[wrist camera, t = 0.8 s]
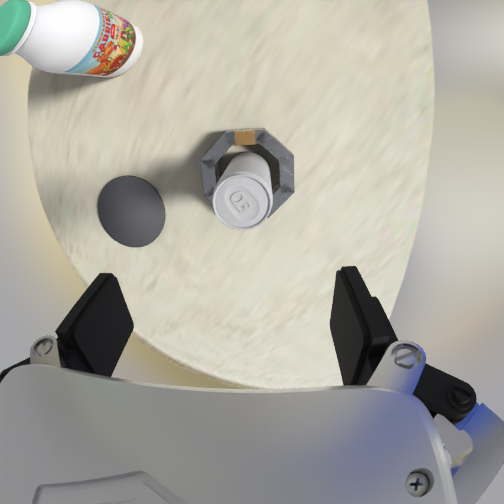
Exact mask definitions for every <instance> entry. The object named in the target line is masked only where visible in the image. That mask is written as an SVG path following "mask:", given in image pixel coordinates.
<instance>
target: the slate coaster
mask: <svg viewBox="0 0 504 504" xmlns="http://www.w3.org/2000/svg"><path fill="white" fill-rule="evenodd" d="M98 213H99V218H100V221H101V223H102V225H103V227H104V229H105V230H106V232H107V233H108V234H109V235H110V236H111V237H112V238H113V239H114V240H115V241H117V242H119V243H120V244H123V245H125V246H128V247H143V246H146V245H148V244H150V243H152V242H153V241H154V240H155V239H156V238H157V237H158V236H159V234H160V233H161V231H162V229H163V226H164V223H165V208H164V204H163V201H162V199H161V197H160V195H159V193H158V192H157V190H156V189H155V188H154V187H153V186H152V185H151V184H150V183H148V182H147V181H145V180H143V179H141V178H139V177H135V176H122V177H119V178H116V179H114V180H113V181H111V182H110V183H108V184H107V185H106V186H105V188H104V189H103V191H102V193H101V195H100V198H99V202H98Z"/></svg>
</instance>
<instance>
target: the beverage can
mask: <svg viewBox="0 0 504 504" xmlns="http://www.w3.org/2000/svg"><path fill="white" fill-rule="evenodd" d="M212 200H213V209H214V212H215V214H216V216H217V217H218V219H219V220H220V221H221V222H222V223H223V224H224V225H226V226H228V227H230V228H232V229H236V230H249V229H253V228H255V227H257V226H259V225H260V224H262V223H263V222H264V221H265V220H266V218H267V217H268V215H269V213H270V211H271V208H272V204H273V194H272V186H271V178H270V170H269V166H268V163H267V162H266V160H265V159H264V158H263V157H261V156H260V155H258V154H256V153H252V152H243V153H240V154H238V155H236V156H235V157H234V158H233V159H232V160H231V162H230V163H229V165H228V166H227V168H226V170H225V171H224V173H223V175H222V176H221V178H220V180H219V181H218V183H217V185H216V187H215V188H214V192H213V196H212Z"/></svg>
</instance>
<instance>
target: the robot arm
mask: <svg viewBox="0 0 504 504" xmlns="http://www.w3.org/2000/svg"><path fill="white" fill-rule="evenodd" d="M133 328H134V324H133V320H132V318H131V315H130V313H129V310H128V308H127V305H126V302H125V300H124V297H123V294H122V291H121V288H120V286H119V283H118V280H117V278H116V277H115V276H114V275H113V274H112V273H100V274H99V275H98V276H97V277H96V278H95V280H94V281H93V282H92V283H91V285H90V286H89V287H88V288H87V290H86V291H85V292H84V293H83V295H82V296H81V297H80V299H79V300H78V301H77V302H76V304H75V305H74V306H73V308H72V309H71V310H70V312H69V313H68V314H67V316H66V317H65V319H64V320H63V321H62V323H61V324H60V325H59V327H58V328H57V330H56V331H55V332H56V334H57V335H58V338H57V339H56V338H55V337H53V336H50V335H49V336H48V335H47V336H43V337H41V338H39V339H38V340H36V341H35V342H34V344H33V345H32V347H31V349H30V357H29V358H27V359H25V360H24V361H21V362H19V363H17V364H15V365H13V366H11V367H9V368H7V369H5V370H3V371H2V372H1V374H0V504H475V503H476V502H477V501H478V499H479V498H480V497H481V496H482V494H483V493H484V492H485V490H486V489H487V488H488V486H489V485H490V483H491V482H492V480H493V479H494V478H495V476H496V475H497V473H498V472H499V470H500V469H501V467H502V465H503V464H504V421H503V420H501V419H500V418H499V417H498V416H497V415H496V414H495V413H494V412H492V411H491V410H490V409H489V408H488V407H487V406H486V405H485V404H483V403H482V404H481V405H479V404H478V403H477V402H476V394H475V391H474V389H473V388H472V387H471V386H470V385H469V384H468V383H466V382H464V381H462V380H460V379H458V378H456V377H453V376H451V375H449V374H447V373H445V372H443V371H441V370H438V369H436V368H434V367H432V366H430V365H428V364H426V355H425V352H424V351H423V349H422V348H421V347H420V346H419V345H418V344H416V343H414V342H411V341H407V340H400V341H398V339H397V337H396V335H395V333H394V330H393V328H392V326H391V324H390V322H389V320H388V318H387V316H386V314H385V312H384V310H383V308H382V306H381V304H380V302H379V300H378V298H377V297H371V295H370V293H369V291H368V289H367V287H366V285H365V283H364V281H363V279H362V277H361V275H360V273H359V271H358V269H357V267H356V266H346V267H342V268H341V270H338V271H337V272H336V280H335V288H334V296H333V304H332V311H331V318H330V330H331V334H332V338H333V342H334V346H335V350H336V354H337V358H338V363H339V367H340V371H341V376H342V380H343V385H344V386H327V387H312V388H291V389H217V388H216V389H215V388H198V387H184V386H172V385H163V384H154V383H146V382H139V381H132V380H125V379H119V378H112V377H111V376H112V373H113V371H114V369H115V367H116V365H117V362H118V360H119V358H120V356H121V354H122V351H123V350H124V347H125V345H126V343H127V341H128V339H129V337H130V335H131V333H132V331H133ZM443 443H444V444H445V446H444V445H443ZM444 448H445V449H446V450H447V451H448V452H449V454H450V455H451V459H452V464H451V468H450V466H449V462H448V459H447V455H446V452H445V449H444ZM409 474H410V475H409Z"/></svg>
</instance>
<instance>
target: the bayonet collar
mask: <svg viewBox="0 0 504 504" xmlns="http://www.w3.org/2000/svg"><path fill="white" fill-rule="evenodd" d="M258 143H259V144H261V145H262V146H263V147H264V148H265V149H266V150H268V151H269V152H270V153H271V154H272V155H273V156H274V157H275V158H277V159H278V160H279V182H278V183H277V184H276V185H275V187H274V188H273V189H272V194H273V204H272V208H271V211H270V213H269V215H268V217H267V218H269V217H270V216H271V215H272V214H273V213H274V212H275V211H276V210H277V209H278V208H279V207H280V206H281V205H282V204H283V203H284V202H285V201H286V200H287V199H288V198H289V197H290V196H291V195H292V194H293V193H294V155H293V154H292V152H291V151H289V150H288V149H287V148H286V147H285V146H284V145H283V144H282V143H281V142H280V141H278V140H277V139H276V138H275V137H274V136H273V135H272V134H271V133H269V132H268V131H267V130H266V129H265V128H257V129H240V130H227V131H226V132H224V134H223V135H222V136H221V137H220V138H219V139H218V140H217V142H216V143H215V144H214V145H213V146H212V147H211V149H210V150H209V151H208V152H207V153H206V155H205V156H204V157H203V158H202V159H201V160H200V162H201V171H202V180H203V188H204V197H206V198H207V199H208V200H209V201H211V202H212V203H213V200H212V196H213V192H214V188H215V187H216V185H217V183H218V181H219V180H220V177H219V167H218V160H219V159H220V158H221V157H222V156H223V155H224V153H225V152H226V151H227V150H228V149H229V148H230V147H231V146H232V145H235V146H238V145H255V144H258Z"/></svg>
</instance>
